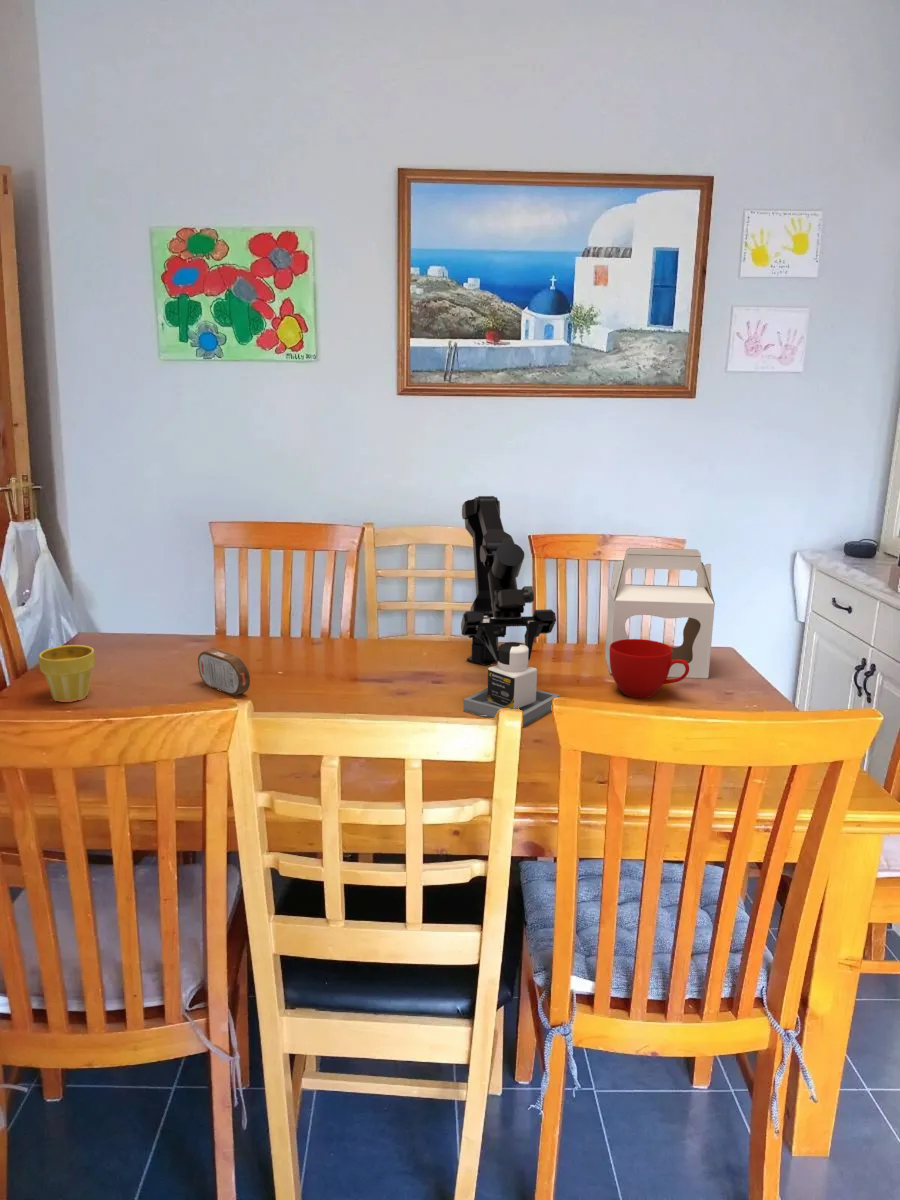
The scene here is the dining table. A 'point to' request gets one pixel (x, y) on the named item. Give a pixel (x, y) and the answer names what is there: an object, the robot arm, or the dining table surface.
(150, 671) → the dining table surface
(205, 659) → the tin
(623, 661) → the ceramic cup
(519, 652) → the medicine bottle
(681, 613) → the gable box
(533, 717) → the slate tray
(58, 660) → the plant pot
